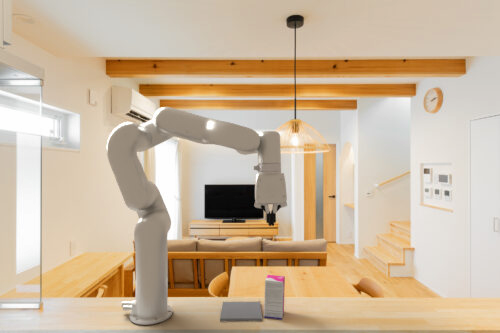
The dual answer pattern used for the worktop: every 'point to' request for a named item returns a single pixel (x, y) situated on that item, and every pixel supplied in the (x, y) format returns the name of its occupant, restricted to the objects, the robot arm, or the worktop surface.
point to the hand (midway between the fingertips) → (271, 225)
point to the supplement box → (274, 297)
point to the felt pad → (241, 311)
